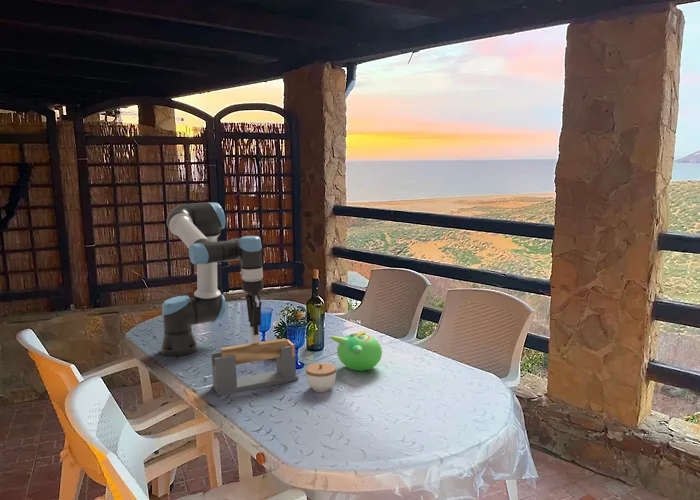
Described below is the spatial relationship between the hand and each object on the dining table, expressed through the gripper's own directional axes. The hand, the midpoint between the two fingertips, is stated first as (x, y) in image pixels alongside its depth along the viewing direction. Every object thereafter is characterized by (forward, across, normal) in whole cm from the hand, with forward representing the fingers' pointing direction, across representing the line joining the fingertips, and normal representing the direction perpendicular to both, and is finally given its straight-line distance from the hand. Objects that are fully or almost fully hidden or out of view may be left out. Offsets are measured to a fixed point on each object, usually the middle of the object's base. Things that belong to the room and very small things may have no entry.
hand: (255, 342), depth 201 cm
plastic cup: (+16, -30, +21) cm, 40 cm away
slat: (+7, 0, 0) cm, 7 cm away
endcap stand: (+16, 0, 0) cm, 16 cm away
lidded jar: (+16, +16, +19) cm, 29 cm away
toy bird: (+16, +5, +39) cm, 42 cm away
